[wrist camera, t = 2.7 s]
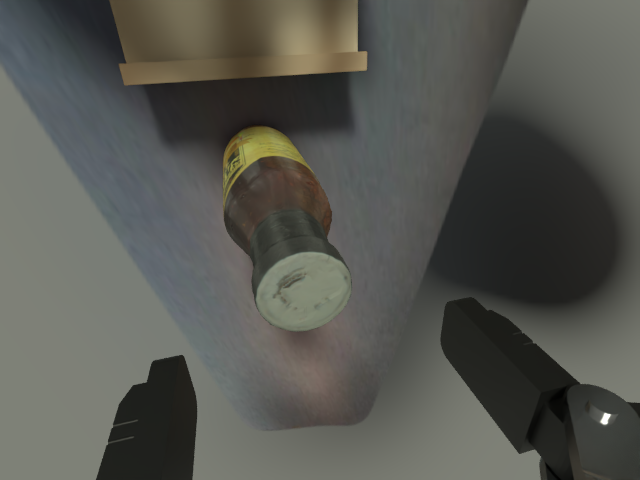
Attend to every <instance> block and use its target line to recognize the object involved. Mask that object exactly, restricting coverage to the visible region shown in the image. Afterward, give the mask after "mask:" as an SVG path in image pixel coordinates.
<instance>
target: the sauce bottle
mask: <svg viewBox="0 0 640 480" xmlns="http://www.w3.org/2000/svg"><path fill="white" fill-rule="evenodd" d="M223 211H224V222H225V226H226V230H227V232H228V234H229V235H230V237H231V238H232V239H233V241H234V242H235V243H236V244H237V245H238V246H239V247H240V248H241V249H243V250H244V251H245V252H246V253H247V254H248V255H249V256H250V258H251V260H252V262H253V266H254V269H253V275H252V290H253V294H254V299H255V304H256V307H257V309H258V311H259V312H260V314H261V316H262V317H263V318H264V319H265V320H266V321H268V322H269V323H270V324H271V325H273V326H276V327H278V328H281V329H284V330H289V331H294V332H298V331H308V330H311V329H315V328H318V327H320V326H322V325H324V324H326V323H328V322H330V321H331V320H332V319H333V318H335V316H337V315H338V314H340V313H341V311H342V309H343V308H344V307H345V306H346V304H347V302H348V300H349V298H350V295H351V291H352V282H351V274H350V272H349V269H348V267H347V265H346V264H345V262H344V260H343V258H342V257H341V255H340V254H339V252H338V251H337V249H336V248H335V247H334V246H333V245H331V244H330V243H329V242H328V239H327V236H328V233H329V230H330V225H331V221H332V211H331V209H330V205H329V202H328V198H327V196H326V194H325V192H324V190H323V189H322V187H321V186H320V183H319V181H318V179H317V177H316V176H315V174H314V173H313V172H312V170H311V169H310V167H309V166H308V165H307V163H306V162H305V160H304V159H303V158H302V156H301V155H300V153H299V152H298V151H297V149H296V148H295V146H294V145H293V144H292V142H291V141H290V140H289V138H288V137H286V136H285V135H284V134H282V133H281V132H280V131H278V130H277V129H273V128H271V127H267V126H262V125H252V126H248V127H245V128H244V129H242V130H240V131H239V132H238V133H237V134H236V135H234V136H233V137H232V138H231V140H230V142H229V144H228V145H227V147H226V149H225V152H224V157H223Z"/></svg>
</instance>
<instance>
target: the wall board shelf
mask: <svg viewBox="0 0 640 480" xmlns="http://www.w3.org/2000/svg"><path fill="white" fill-rule="evenodd" d="M109 1H110V4H111V8H112V12H113V16H114V19H115V23H116V27H117V30H118V34H119V38H120V41H121V45H122V49H123V53H124V56H125V60H126V64H119V68H120V71H121V75H122V78H123V82H124V85H138V84H155V83H171V82H187V81H203V80H219V79H236V78H252V77H268V76H284V75H300V74H316V73H333V72H349V71H365V70H367V51H361V52H358V0H109Z"/></svg>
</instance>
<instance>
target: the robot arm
mask: <svg viewBox="0 0 640 480" xmlns="http://www.w3.org/2000/svg"><path fill="white" fill-rule="evenodd" d="M441 346H442V349H443V352H444V354H445V356H446V358H447V359H448V360H449V362H450V363H451V364H452V366H453V367H454V368H455V370H456V371H457V372H458V374H459V375H460V376H461V378H462V379H463V380H464V381H465V383H466V384H467V386H468V387H469V388H470V390H471V391H472V392H473V393H474V395H475V396H476V397H477V399H478V400H479V401H480V403H481V404H482V405H483V407H484V408H485V409H486V410H487V412H488V413H489V414H490V416H491V417H492V419H493V420H494V421H495V423H496V424H497V425H498V426H499V428H500V429H501V430H502V432H503V433H504V434H505V436H506V437H507V438H508V440H509V441H510V442H511V444H512V445H513V446H514V448H515V449H516V450H517V452H518V453H519V454H521V453H524V452H527V451H530V450H534V449H535V450H536V451H537V452H538V453H539V454H540V456H541V459H540V462H539V467H540V476H541V480H640V403H630V402H626V401H625V400H624V399H622V398H621V397H619V396H618V395H616V394H615V393H613V392H611V391H609V390H607V389H604V388H602V387H599V386H595V385H590V384H580V383H579V382H578V381H577V380H576V379H574V378H573V377H572V376H571V375H570V374H569V373H568V372H567V371H566V370H564V369H563V368H562V367H561V366H560V365H559V364H558V363H557V362H556V361H554V360H553V359H552V358H551V357H550V356H549V355H548V354H547V353H545V352H544V351H543V350H542V349H541V348H540V347H539V346H537V344H534V343H533V341H532V340H531V339H530V338H529V337H528V336H527V335H525V334H524V333H523V334H522V332H521V330H520V329H519V328H518V327H516V326H515V325H514V324H513V323H512V322H511V321H510V320H509V319H507V318H505V317H503V316H501V315H499V314H498V313H496V312H494V311H492V310H489V311H487V310H486V309H485V308H484V307H483V306H482V305H481V304H480V303H479V302H478V301H477V300H475V299H474V298H472V297H469V298H464V299H459V300H454V301H449V302H447V304H446V306H445V311H444V318H443V325H442V332H441ZM196 423H197V401H196V395H195V391H194V387H193V384H192V381H191V377H190V374H189V371H188V368H187V364H186V361H185V358H184V356H183V355H179V356H174V357H169V358H164V359H160V360H155V361H153V362H152V364H151V367H150V371H149V376H148V380H147V383H142V384H138V385H133V386H132V387H131V389H130V390H129V392H128V393H127V394H126V396H125V397H124V398H123V400H122V401H121V403H120V404H119V407H118V410H117V413H116V417H115V420H114V423H113V428H112V429H111V433H110V436H109V439H108V445H107V446H106V449H105V452H104V456H103V459H102V462H101V466H100V468H99V472H98V475H97V478H96V480H192V476H193V464H194V449H195V437H196Z"/></svg>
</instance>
